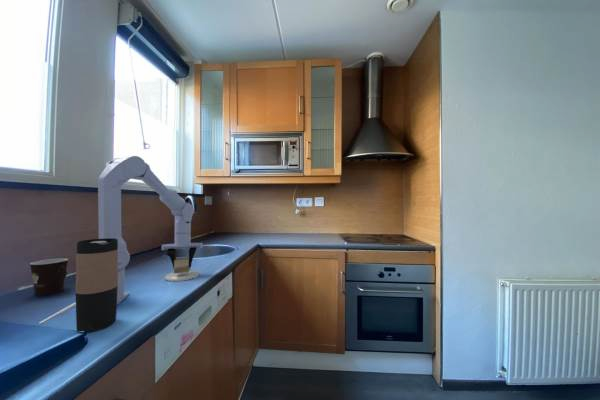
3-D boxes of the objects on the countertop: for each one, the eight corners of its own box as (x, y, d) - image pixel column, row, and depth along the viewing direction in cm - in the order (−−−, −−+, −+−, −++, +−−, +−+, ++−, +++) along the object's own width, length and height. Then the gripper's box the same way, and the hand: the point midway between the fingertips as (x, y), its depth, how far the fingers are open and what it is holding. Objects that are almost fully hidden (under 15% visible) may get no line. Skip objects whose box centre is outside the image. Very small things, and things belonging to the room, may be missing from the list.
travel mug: (88, 319, 60) (89, 238, 60) (123, 316, 62) (124, 237, 62) (66, 335, 52) (67, 243, 53) (106, 331, 54) (107, 242, 55)
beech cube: (188, 272, 94) (188, 259, 94) (174, 273, 92) (174, 260, 92) (190, 269, 98) (190, 256, 99) (176, 270, 97) (176, 257, 97)
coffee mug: (30, 292, 79) (30, 261, 79) (66, 285, 85) (67, 257, 85) (28, 302, 71) (29, 267, 71) (69, 294, 77) (69, 262, 77)
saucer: (197, 279, 91) (197, 277, 91) (161, 282, 88) (161, 280, 88) (200, 271, 103) (200, 269, 103) (168, 273, 99) (168, 271, 99)
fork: (31, 327, 58) (31, 319, 58) (93, 294, 78) (93, 288, 78) (46, 326, 58) (46, 318, 58) (104, 293, 78) (104, 288, 78)
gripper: (203, 231, 102) (203, 263, 101) (164, 232, 97) (164, 266, 97) (201, 233, 95) (201, 267, 95) (160, 234, 91) (159, 270, 90)
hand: (182, 267), depth 95 cm, fingers closed on beech cube, 5 cm apart
